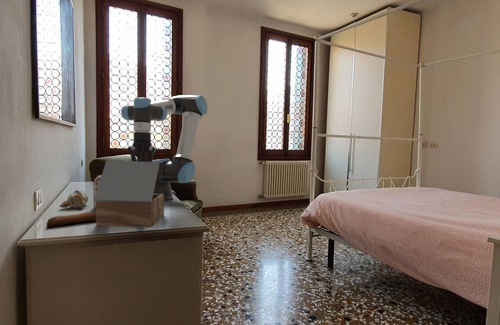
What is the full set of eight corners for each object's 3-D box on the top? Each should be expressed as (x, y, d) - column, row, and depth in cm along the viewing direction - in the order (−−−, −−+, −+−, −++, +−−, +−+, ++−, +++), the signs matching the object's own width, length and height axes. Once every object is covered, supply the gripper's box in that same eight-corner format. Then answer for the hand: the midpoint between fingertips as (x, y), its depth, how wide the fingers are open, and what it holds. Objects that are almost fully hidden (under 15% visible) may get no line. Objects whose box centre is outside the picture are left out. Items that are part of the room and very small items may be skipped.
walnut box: (116, 214, 139) (116, 192, 138) (164, 215, 139) (164, 194, 138) (96, 225, 121) (95, 200, 120) (150, 227, 121) (150, 202, 120)
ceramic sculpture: (92, 187, 158) (81, 194, 143) (93, 203, 159) (82, 211, 144) (71, 187, 156) (57, 194, 142) (72, 203, 157) (58, 212, 143)
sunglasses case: (93, 217, 133) (95, 205, 130) (97, 228, 128) (98, 216, 125) (44, 223, 121) (45, 211, 118) (46, 236, 117) (47, 223, 114)
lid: (107, 162, 129) (106, 160, 128) (159, 163, 129) (158, 162, 128) (95, 200, 120) (94, 199, 119) (151, 202, 120) (150, 201, 119)
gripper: (124, 131, 135) (124, 183, 136) (153, 132, 134) (153, 184, 136) (131, 131, 142) (131, 181, 144) (159, 132, 142) (158, 182, 144)
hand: (142, 182), depth 140 cm, fingers closed
